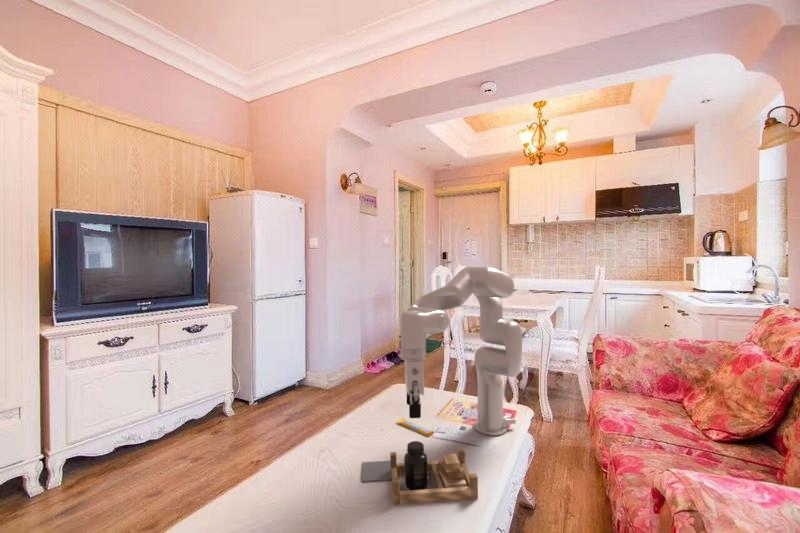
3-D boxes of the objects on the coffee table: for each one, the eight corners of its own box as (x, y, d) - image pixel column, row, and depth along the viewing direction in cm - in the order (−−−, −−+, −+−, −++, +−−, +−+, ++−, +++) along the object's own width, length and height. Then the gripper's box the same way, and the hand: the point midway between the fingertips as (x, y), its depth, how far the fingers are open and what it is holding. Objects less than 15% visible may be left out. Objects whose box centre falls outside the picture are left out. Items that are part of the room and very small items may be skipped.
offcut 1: (455, 461, 110) (455, 453, 110) (460, 471, 105) (459, 462, 105) (442, 462, 110) (442, 454, 110) (446, 472, 105) (446, 463, 105)
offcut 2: (453, 466, 112) (452, 458, 112) (464, 479, 106) (464, 470, 105) (438, 469, 110) (438, 461, 110) (449, 482, 104) (449, 474, 104)
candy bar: (435, 435, 138) (435, 430, 138) (428, 439, 135) (428, 434, 135) (403, 421, 149) (403, 416, 149) (396, 424, 146) (396, 420, 146)
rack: (463, 466, 116) (463, 448, 116) (477, 498, 101) (477, 477, 100) (390, 471, 114) (390, 452, 114) (393, 504, 99) (393, 482, 99)
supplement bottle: (430, 480, 109) (430, 441, 109) (424, 494, 103) (424, 452, 102) (408, 476, 111) (408, 437, 111) (401, 490, 105) (400, 449, 104)
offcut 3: (457, 474, 113) (457, 465, 112) (466, 493, 104) (466, 483, 104) (438, 476, 112) (438, 467, 112) (445, 495, 103) (445, 485, 103)
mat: (393, 461, 119) (393, 460, 119) (395, 480, 109) (395, 478, 109) (362, 463, 119) (362, 462, 119) (361, 482, 109) (361, 481, 109)
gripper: (430, 360, 99) (430, 423, 100) (422, 346, 117) (422, 399, 117) (402, 361, 99) (402, 424, 99) (399, 346, 116) (399, 399, 116)
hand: (413, 410), depth 108 cm, fingers open, 9 cm apart
